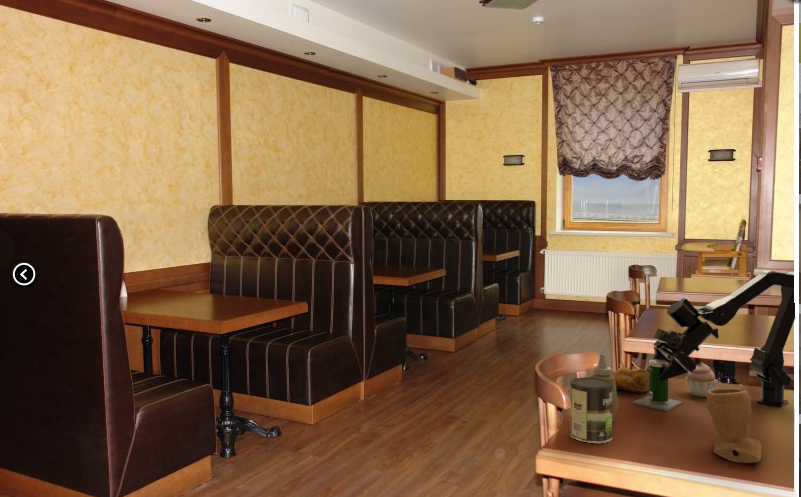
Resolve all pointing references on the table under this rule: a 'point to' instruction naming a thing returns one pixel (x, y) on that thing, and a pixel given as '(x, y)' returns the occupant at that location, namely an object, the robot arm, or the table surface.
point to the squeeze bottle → (605, 373)
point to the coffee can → (591, 410)
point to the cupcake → (701, 380)
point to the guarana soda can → (658, 382)
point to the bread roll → (632, 380)
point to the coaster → (664, 407)
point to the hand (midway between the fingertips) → (653, 375)
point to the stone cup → (733, 425)
